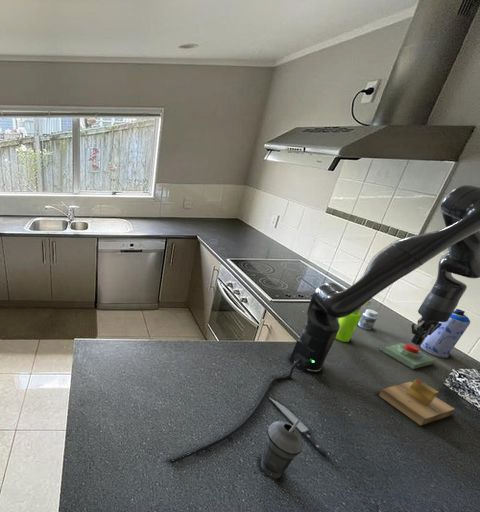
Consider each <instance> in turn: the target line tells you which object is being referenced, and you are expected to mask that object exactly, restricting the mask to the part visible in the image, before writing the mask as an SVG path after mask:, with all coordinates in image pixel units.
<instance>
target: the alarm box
mask: <svg viewBox="0 0 480 512" xmlns="http://www.w3.org/2000/svg"><path fill="white" fill-rule="evenodd" d="M406 344H407V343H406ZM406 344H405V343H404V342H402V343H401V342H400V343H396V344H392V345H387V346H384V347H383V349H382V352H383V353H385V354H386V355H388V356H390V357H392V358H394V359H395V360H397V361H398V362H400V363H402V364H404V365H405V366H407V367H409V368H410V369H412V370H416V369H419V368H423V367H427V366H430V365H433V363H434V362H435V359H434V358H432V357H430V356H428V355H427V354H424V353H423V352H422V351H421V350H420V349H419V351H418V353H412V352H409V351H407V350H406V349H405V346H406Z"/></svg>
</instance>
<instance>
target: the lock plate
mask: <svg viewBox="0 0 480 512" xmlns="http://www.w3.org/2000/svg"><path fill="white" fill-rule="evenodd" d="M413 382H414V381H413ZM413 382H412V381H407V382H403V383H399V384H397V385H392V386H389V387H386V388H382V389H381V391H380V393H379V394H378V396H379V397H380V398H381V399H382V400H384V401H386V402H387V403H388V404H390V405H391V406H393V408H395V409H397V410H398V411H400V412H401V413H402V414H404V415H405V416H407V417H408V418H409V419H411V420H412V421H414V422H415V423H416V424H417V425H419V426H423V425H426V424H430V423H432V422H435V421H438V420H441V419H445V418H447V417H450V416H452V414H453V413H454V411H455V410H456V408H454V407H453V406H451V405H450V404H448V403H446V402H445V401H443V400H441V399H440V398H438V397H437V396H436V397H435V398H434V399H433V401H432V402H431V404H430V405H427V406H426V405H424V404H423V403H421V402H420V401H418V400H417V399H415V398H413V397H412V396H410V395H409V394H407V391H408V389H409V388H410V386H411V385H412V383H413Z"/></svg>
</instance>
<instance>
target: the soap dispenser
mask: <svg viewBox="0 0 480 512" xmlns="http://www.w3.org/2000/svg"><path fill="white" fill-rule="evenodd" d="M364 305H365V306H371V305H372V304H371V303H370V302H369V301H368V302H366V303H365V304H364ZM361 309H362V306H361V307H360V308H359V309H358V310H356V311H355V312H353V313H352V314H350V315H348V316H345V317H342V318H338V322H339V324H340V328H339V331H338V333H337V335H336V337H335V339H336V340H337V341H339V342H343V343H348V342H350V340H351V339H352V336H353V334H354V332H355V331H356V328H357V326H358V323H359V321H360V319H361V317H362V314H361V312H360V310H361Z"/></svg>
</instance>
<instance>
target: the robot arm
mask: <svg viewBox="0 0 480 512" xmlns="http://www.w3.org/2000/svg"><path fill="white" fill-rule="evenodd" d="M439 208H440V214H441V216H442V220H443V222H444V226H445V227H444V228H441V229H438V230H434V231H430V232H425V233H421V234H417V235H411V236H406V237H403V238H399V239H397V240H394V241H393V242H390V243H389V244H388V245H387V246H385V247H384V248H382V249H381V250H380V251H377V253H375V255H373V256H372V257H371V258H370V260H369V262H368V264H367V266H366V268H365V270H364V272H363V274H362V275H361V276H360V278H359V279H358V280H357V281H356V282H354V283H353V284H351V285H350V286H349V287H347V288H346V289H344V287H342V286H341V285H339V284H337V283H334V282H325V283H322V284H320V285H319V286H317V288H315V289H314V291H313V293H312V295H311V298H310V300H309V304H308V307H307V310H306V320H305V323H304V326H303V328H302V330H301V332H300V335H299V337H298V340H296V342H295V344H294V347H293V350H292V352H291V355H290V357H289V360H290V361H291V362H292V365H291V367H290V370H289V372H288V374H286V375H284V376H275V377H273V378H271V379H270V381H269V382H268V384H267V385H266V388H265V390H264V392H263V393H262V395H261V397H260V398H259V400H258V401H257V403H256V405H255V406H254V408H253V409H252V410H251V412H250V413H249V414H248V415H247V417H246V418H245V419H243V421H242V422H240V424H238V425H237V426H236V427H234V428H233V429H232V430H230V431H229V432H226V433H225V434H224V435H222V436H220V437H218V438H216V439H214V440H213V441H211V442H208V443H206V444H204V445H201V446H199V447H197V448H194V449H192V450H190V451H187V452H185V453H183V454H179V455H177V456H174V457H172V458H170V459H169V462H170V463H171V464H175V463H177V462H179V461H181V460H184V459H186V458H188V457H191V456H193V455H195V454H198V453H201V452H202V451H205V450H207V449H210V448H211V447H214V446H216V445H217V444H220V443H222V442H223V441H225V440H227V439H229V438H230V437H232V436H233V435H234V434H236V433H237V432H239V431H240V430H241V429H242V428H244V427H245V425H247V423H248V422H250V420H251V419H252V418H253V417H254V415H255V414H256V413H257V411H258V409H259V408H260V406H261V405H262V403H263V402H264V400H265V398H266V396H267V394H269V391H270V389H271V387H272V385H273V384H274V382H276V381H280V380H287V379H289V378H291V376H292V375H293V373H294V370H295V368H296V366H297V367H298V368H299V369H300V370H301V371H303V372H309V373H319V372H321V371H322V367H323V365H324V363H325V361H326V358H327V357H328V355H329V352H330V350H331V348H332V346H333V343H334V341H335V339H336V338H335V337H336V335H337V333H338V331H339V328H340V324H339V322H338V320H339V318H342V317H345V316H348V315H350V314H352V313H353V312H355V311H356V310H358V309H359V308H360V307H361V308H362V307H363V306H364V305H365V303H366V302H369V301H370V300H372V299H373V298H374V297H375V296H377V295H378V294H379V293H381V292H383V291H384V290H385V289H387V288H389V287H390V286H391V285H393V284H394V283H396V282H397V281H399V280H400V279H402V278H403V277H405V276H407V275H409V274H410V273H412V272H414V271H415V270H416V269H418V268H420V267H421V266H423V265H425V264H426V263H427V262H429V261H430V260H431V259H433V258H435V257H436V256H438V255H439V254H441V253H443V252H444V251H445V250H447V253H445V254H443V255H442V256H441V257H440V259H439V261H438V266H437V267H438V268H437V275H436V279H435V282H434V283H433V286H432V287H431V289H430V291H429V292H428V294H427V295H426V296H425V298H424V299H423V301H422V302H421V305H419V308H418V310H417V313H418V314H419V315H420V316H421V317H420V318H419V319H418V320H417V323H416V324H415V323H411V325H410V326H411V327H410V328H411V334H413V335H414V336H412V338H411V340H410V342H411V343H412V344H413V345H415V346H421V344H423V342H424V340H425V339H426V337H427V336H428V335H431V334H432V333H433V332H434V331H435V330H437V329H438V328H439V327H440V326H441V325H442V324H441V323H439V322H446V321H448V319H449V318H450V316H451V315H452V313H453V311H455V310H456V309H457V307H458V305H459V302H460V300H461V298H462V297H463V295H464V293H465V292H466V290H467V289H468V286H467V284H465V283H464V282H463V281H461V280H458V279H457V278H455V277H454V276H453V275H457V276H460V277H464V278H467V279H473V280H474V279H480V186H478V185H472V184H465V185H464V184H463V185H459V186H458V187H456V188H454V189H452V190H451V191H449V192H448V193H447V194H446V195H445V196H444V197H443V198H442V200H441V202H440V207H439ZM452 274H453V275H452ZM361 308H360V309H361ZM194 451H196V452H194ZM188 452H190V453H191V454H189V453H188ZM187 454H189V455H187ZM183 456H184V457H183ZM180 457H181V458H180ZM172 460H174V461H172Z"/></svg>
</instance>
